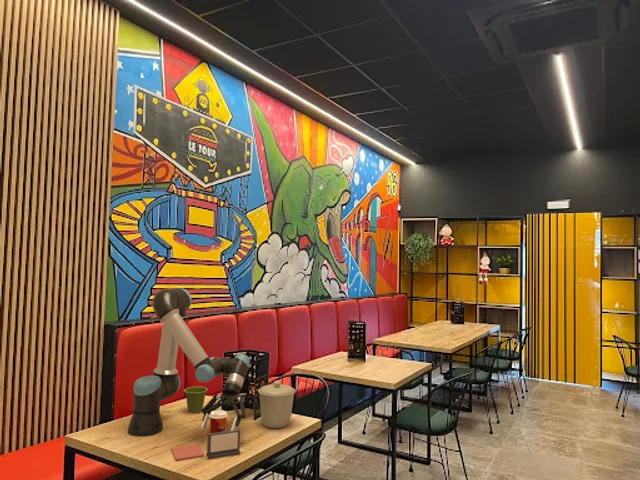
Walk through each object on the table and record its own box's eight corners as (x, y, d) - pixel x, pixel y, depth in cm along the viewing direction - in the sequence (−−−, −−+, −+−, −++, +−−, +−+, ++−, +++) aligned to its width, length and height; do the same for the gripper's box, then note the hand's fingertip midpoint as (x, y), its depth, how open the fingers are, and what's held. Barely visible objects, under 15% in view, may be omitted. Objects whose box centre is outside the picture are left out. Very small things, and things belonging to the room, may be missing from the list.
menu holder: (206, 455, 188) (207, 432, 189) (237, 450, 194) (238, 428, 194) (208, 459, 185) (209, 436, 185) (240, 454, 190) (241, 431, 191)
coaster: (171, 449, 193) (171, 447, 193) (198, 445, 198) (198, 443, 198) (175, 461, 182) (175, 459, 182) (204, 456, 187) (204, 454, 187)
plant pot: (190, 406, 250) (191, 385, 250) (210, 409, 246) (211, 387, 247) (178, 413, 238) (179, 391, 239) (199, 416, 235) (200, 393, 236)
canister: (275, 416, 238) (276, 374, 239) (302, 424, 227) (303, 380, 228) (249, 425, 224) (250, 380, 225) (275, 434, 213) (277, 387, 214)
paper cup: (222, 450, 194) (223, 416, 194) (205, 448, 195) (206, 414, 196) (229, 443, 201) (230, 410, 202) (212, 441, 203) (214, 408, 204)
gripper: (261, 393, 212) (247, 438, 197) (210, 388, 218) (193, 432, 202) (257, 384, 207) (242, 430, 192) (205, 379, 213) (187, 423, 198)
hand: (217, 431), depth 197 cm, fingers open, 13 cm apart
